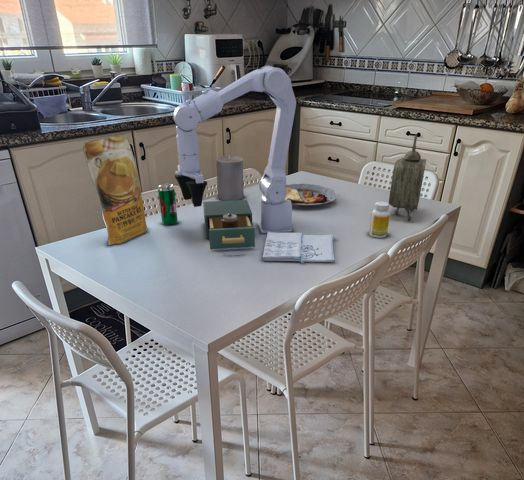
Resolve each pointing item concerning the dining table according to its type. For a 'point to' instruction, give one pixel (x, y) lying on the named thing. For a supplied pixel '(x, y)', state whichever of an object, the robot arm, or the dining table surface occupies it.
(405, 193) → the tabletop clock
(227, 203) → the cabinet
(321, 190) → the food plate
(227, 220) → the pepper mill
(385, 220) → the supplement bottle
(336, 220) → the dining table surface
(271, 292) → the dining table surface
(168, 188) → the soda can
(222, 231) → the drawer
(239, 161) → the pillar candle
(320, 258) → the open sketchbook
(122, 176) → the pancake mix bag
